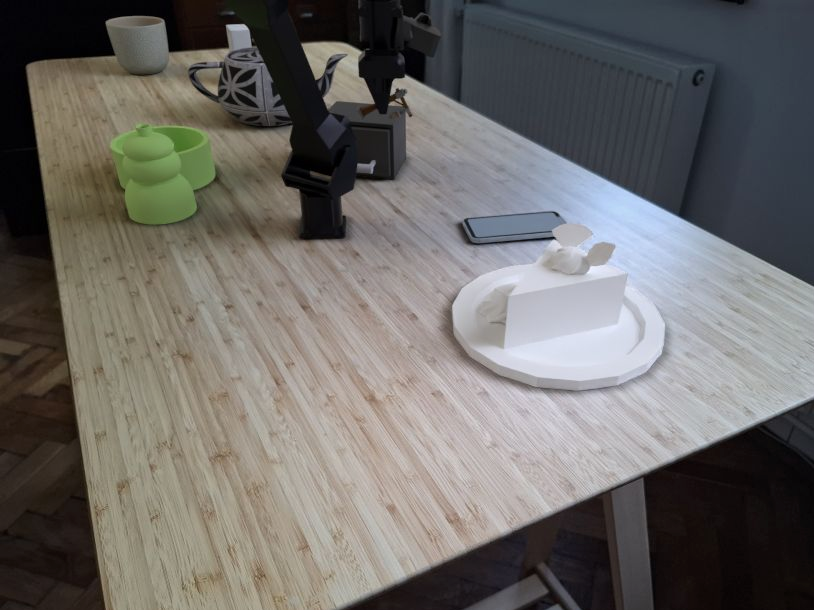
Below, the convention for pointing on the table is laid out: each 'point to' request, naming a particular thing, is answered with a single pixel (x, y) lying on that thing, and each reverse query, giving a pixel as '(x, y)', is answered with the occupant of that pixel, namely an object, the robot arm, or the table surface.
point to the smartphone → (512, 226)
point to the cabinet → (382, 121)
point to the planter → (139, 43)
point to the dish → (560, 318)
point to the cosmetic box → (238, 36)
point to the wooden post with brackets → (397, 95)
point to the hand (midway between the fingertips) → (383, 112)
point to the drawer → (373, 150)
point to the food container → (162, 171)
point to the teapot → (253, 87)
